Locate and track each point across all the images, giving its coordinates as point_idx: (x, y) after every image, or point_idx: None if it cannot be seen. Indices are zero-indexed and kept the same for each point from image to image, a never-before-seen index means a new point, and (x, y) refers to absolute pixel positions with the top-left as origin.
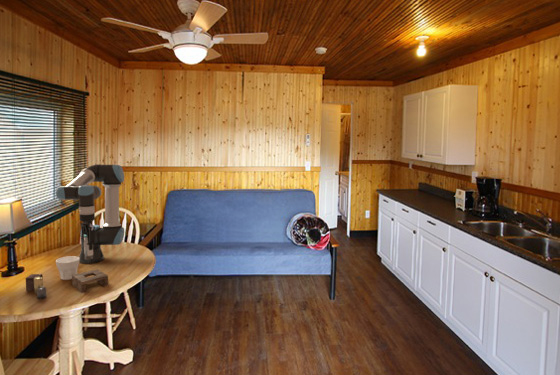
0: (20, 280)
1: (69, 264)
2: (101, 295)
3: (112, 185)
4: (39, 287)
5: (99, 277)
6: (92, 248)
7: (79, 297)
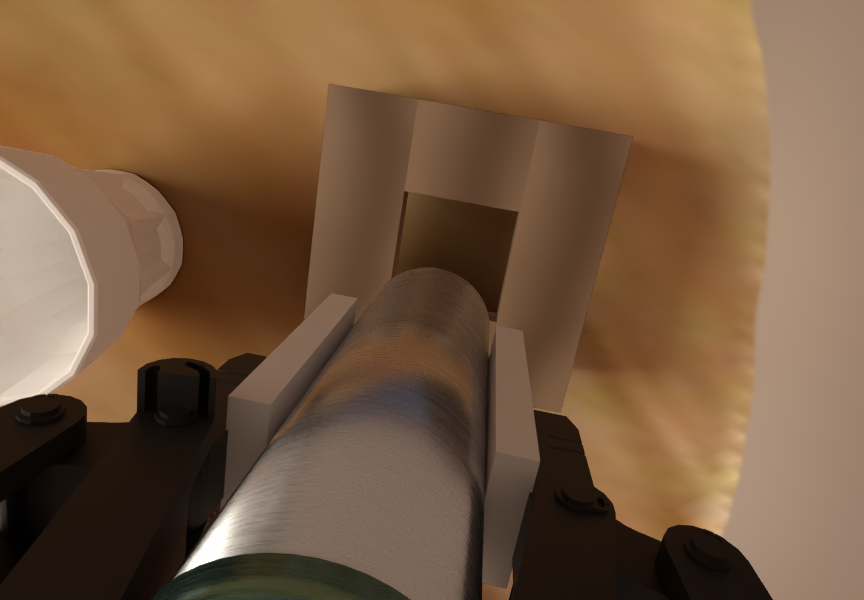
0: None
1: (110, 323)
2: (751, 313)
3: None
4: None
5: (603, 236)
6: (579, 441)
7: (617, 430)
